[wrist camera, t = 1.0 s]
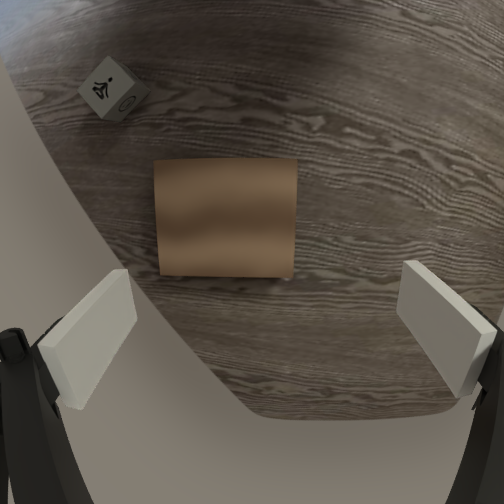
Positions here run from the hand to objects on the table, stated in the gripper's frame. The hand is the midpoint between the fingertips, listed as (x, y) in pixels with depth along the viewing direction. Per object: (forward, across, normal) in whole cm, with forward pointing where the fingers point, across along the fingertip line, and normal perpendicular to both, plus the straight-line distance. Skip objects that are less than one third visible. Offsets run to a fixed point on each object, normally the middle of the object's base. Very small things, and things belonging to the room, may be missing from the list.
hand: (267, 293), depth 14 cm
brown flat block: (+21, -4, 0) cm, 22 cm away
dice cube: (+22, -15, +14) cm, 30 cm away
